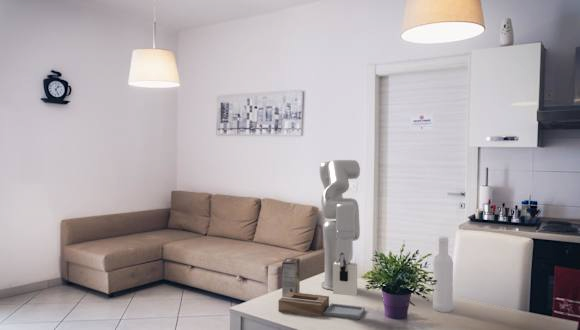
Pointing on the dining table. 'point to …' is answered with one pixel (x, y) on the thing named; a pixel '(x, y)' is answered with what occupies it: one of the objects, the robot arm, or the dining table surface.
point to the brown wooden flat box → (304, 303)
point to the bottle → (443, 278)
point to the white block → (345, 286)
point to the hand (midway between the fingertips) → (345, 279)
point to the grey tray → (344, 311)
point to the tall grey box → (290, 275)
